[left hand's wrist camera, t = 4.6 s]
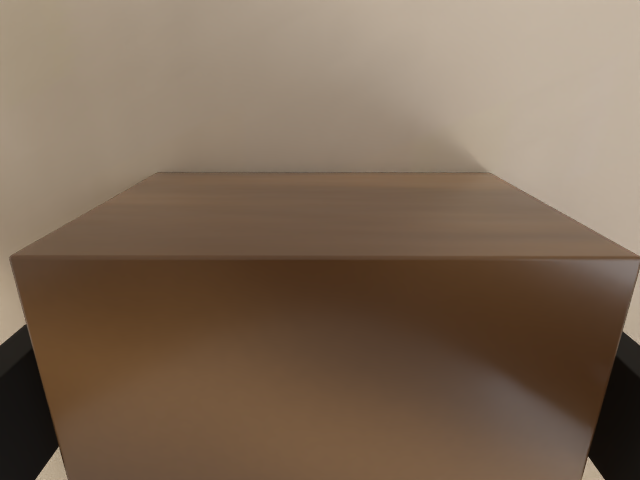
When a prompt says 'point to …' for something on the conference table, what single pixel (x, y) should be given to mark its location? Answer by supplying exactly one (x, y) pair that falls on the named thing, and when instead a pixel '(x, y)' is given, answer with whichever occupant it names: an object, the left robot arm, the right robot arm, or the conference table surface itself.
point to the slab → (324, 329)
